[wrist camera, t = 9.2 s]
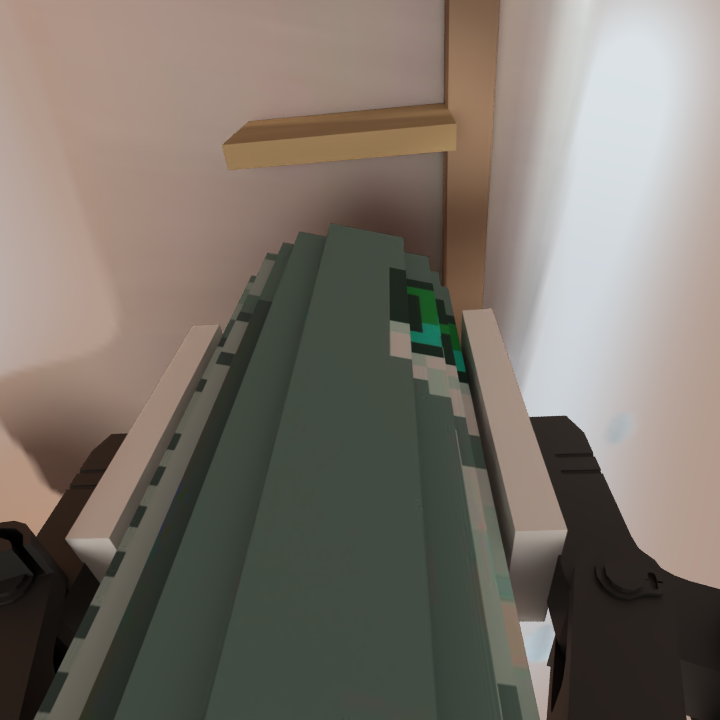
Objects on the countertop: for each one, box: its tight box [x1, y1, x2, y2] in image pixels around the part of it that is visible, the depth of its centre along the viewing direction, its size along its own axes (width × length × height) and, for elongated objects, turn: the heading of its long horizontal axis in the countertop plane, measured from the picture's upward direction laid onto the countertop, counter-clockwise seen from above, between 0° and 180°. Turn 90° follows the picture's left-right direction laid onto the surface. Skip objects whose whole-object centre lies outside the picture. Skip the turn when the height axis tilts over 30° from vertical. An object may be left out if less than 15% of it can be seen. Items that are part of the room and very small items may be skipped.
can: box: [34, 223, 540, 720], centre depth 9 cm, size 6×6×15 cm
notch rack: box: [222, 0, 500, 346], centre depth 20 cm, size 27×9×4 cm, turn 5°
